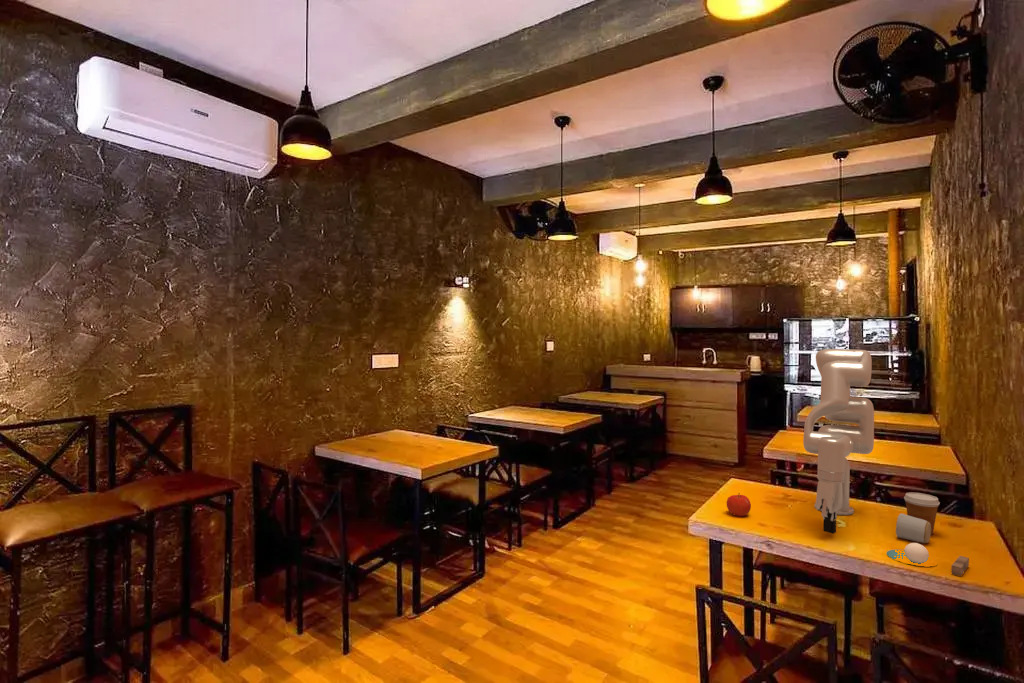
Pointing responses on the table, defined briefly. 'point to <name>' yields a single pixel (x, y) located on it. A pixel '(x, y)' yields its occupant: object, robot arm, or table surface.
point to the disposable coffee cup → (922, 507)
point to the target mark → (894, 554)
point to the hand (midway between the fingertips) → (829, 531)
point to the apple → (738, 505)
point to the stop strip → (960, 565)
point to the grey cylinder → (913, 528)
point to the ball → (916, 553)
